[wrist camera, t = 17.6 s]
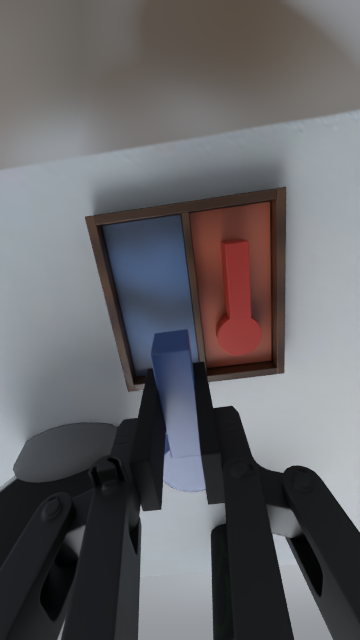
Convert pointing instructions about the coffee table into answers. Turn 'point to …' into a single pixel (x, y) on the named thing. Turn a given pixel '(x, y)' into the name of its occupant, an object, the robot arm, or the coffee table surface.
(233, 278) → the red spoon
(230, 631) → the cup
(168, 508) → the coffee table surface
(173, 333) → the blue disc-ended stick
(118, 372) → the coffee table surface
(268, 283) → the divided sorting tray
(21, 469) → the alarm clock
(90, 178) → the coffee table surface
